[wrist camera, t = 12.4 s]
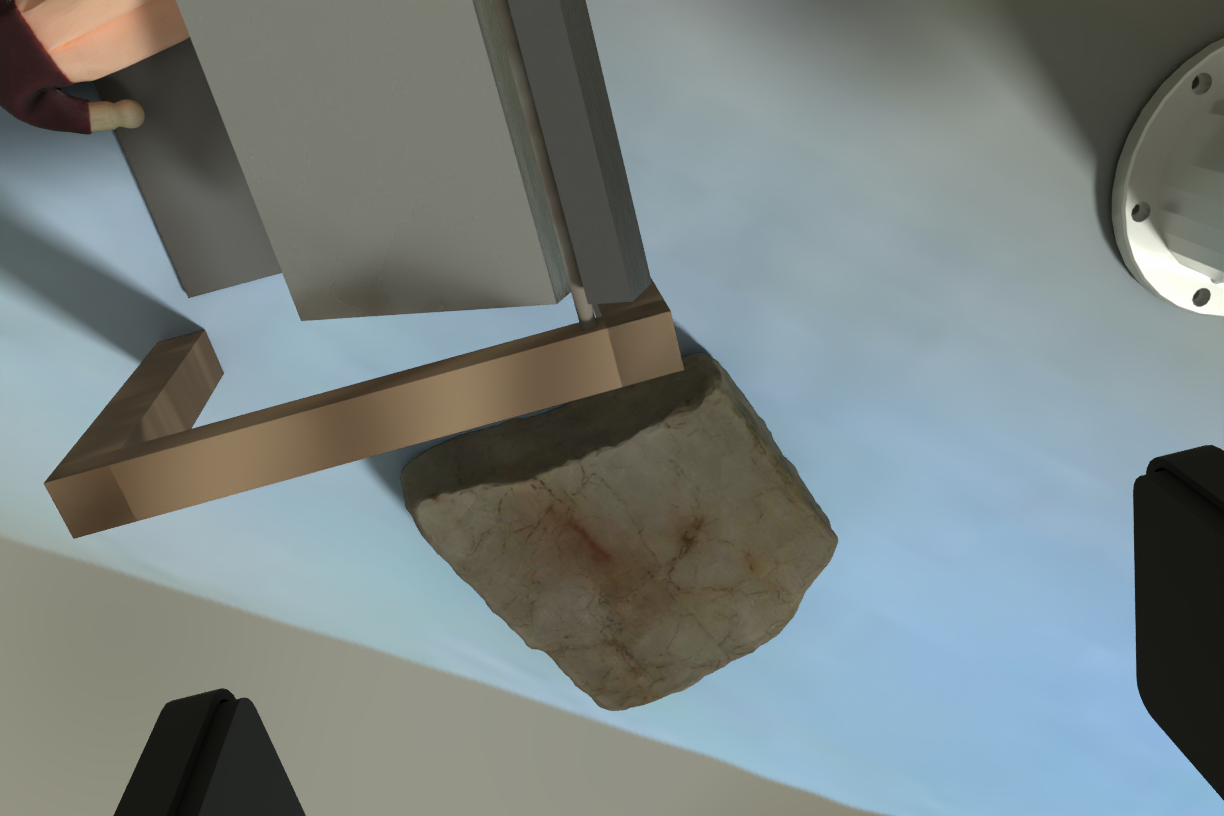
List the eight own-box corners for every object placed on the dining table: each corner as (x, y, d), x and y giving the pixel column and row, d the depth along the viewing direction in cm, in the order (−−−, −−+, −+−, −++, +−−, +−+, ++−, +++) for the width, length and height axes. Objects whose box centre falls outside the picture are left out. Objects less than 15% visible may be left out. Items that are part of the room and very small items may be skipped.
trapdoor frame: (485, -319, 35) (494, -456, 24) (626, 263, 44) (683, 370, 32) (-79, -173, 35) (-348, -240, 23) (177, 386, 43) (73, 538, 32)
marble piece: (393, 466, 46) (387, 511, 43) (664, 276, 45) (683, 305, 41) (603, 697, 53) (614, 753, 49) (846, 539, 51) (877, 585, 47)
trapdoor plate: (515, -299, 25) (485, -303, 24) (651, 283, 31) (632, 301, 30) (148, -151, 31) (112, -148, 30) (322, 307, 37) (297, 323, 36)
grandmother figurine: (247, 45, 35) (-71, 227, 35) (275, 53, 38) (-14, 218, 39) (110, -183, 33) (-224, 15, 33) (153, -151, 36) (-149, 27, 37)
